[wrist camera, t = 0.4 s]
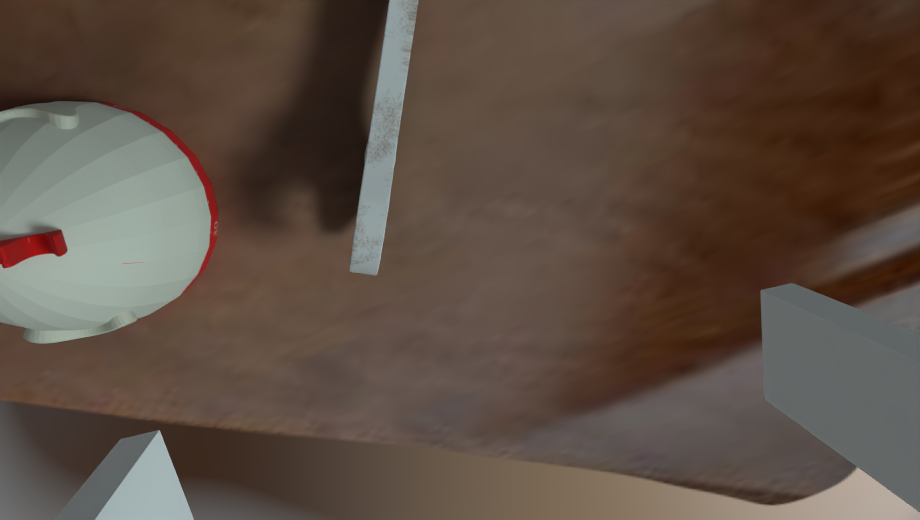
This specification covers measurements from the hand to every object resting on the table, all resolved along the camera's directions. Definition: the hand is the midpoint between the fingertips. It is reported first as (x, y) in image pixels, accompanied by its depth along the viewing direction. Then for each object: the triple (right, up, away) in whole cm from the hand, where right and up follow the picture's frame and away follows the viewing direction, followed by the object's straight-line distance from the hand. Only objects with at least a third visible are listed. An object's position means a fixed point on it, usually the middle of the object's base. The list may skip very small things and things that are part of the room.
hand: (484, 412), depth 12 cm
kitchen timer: (-24, +6, +24) cm, 34 cm away
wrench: (-5, +18, +24) cm, 30 cm away
